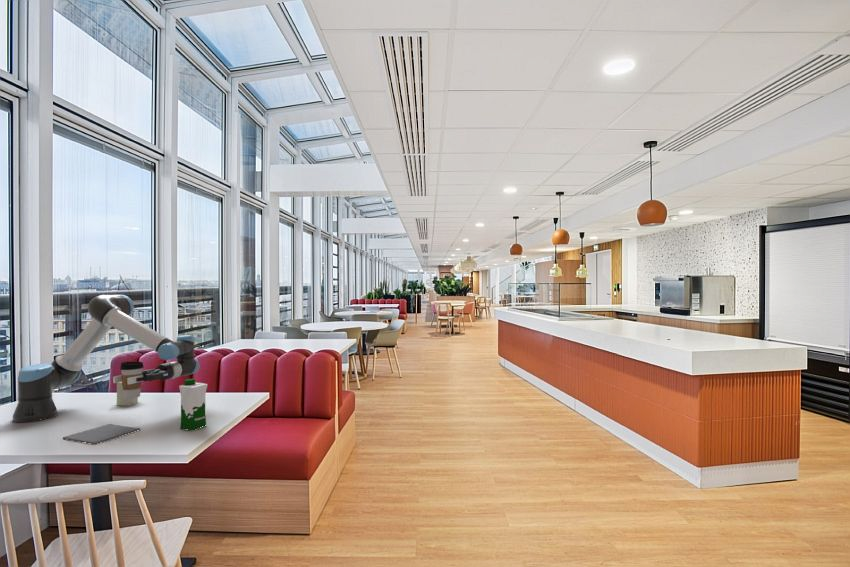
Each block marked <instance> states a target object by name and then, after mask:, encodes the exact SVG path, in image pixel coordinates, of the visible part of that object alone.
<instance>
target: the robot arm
mask: <svg viewBox="0 0 850 567" xmlns="http://www.w3.org/2000/svg"><path fill="white" fill-rule="evenodd" d="M134 309H135V306H134V301H133V300H132V299H131V298H130V297H129V296H127V295H124V294H116V293H115V294H100V295H97V296H95V297H93V298H92V299H91V300H90V301H89V303H88V304H87V312H88V314H89V315H90V317H91V318H92V319H91V320H90V321H89V323H88V324H87V325H86V326H85V327H84V329H83V330H82V331H81V332H80V333H79V335H78V336H77V337H76V339H75V340H74V341H73V342H72V343H71V345H69V348H68V349H66V351H65V352H64V353H63V354H62V355H57V356H56V357H55V359H54V360H53V361H52V362H51V363H37V364H31V365H28V366H27V365H26V366H25V367H22V368H21V369H19V371H18V374H17V375H18V376H17V383H18V384H17V389H18V390H17V395H18V396H17V399H18V401H17V405H16V407H15V409H14V411H13V412H14V413H13V414H12V422H14V421H15V423H27V421H30V422H35V421H34V420H37V421H41V420H40V419H43V420H46V419H45V418H47V419H50V418H49V417H51V418H53V417H52V416H54V417H56V416H57V415H58V409H57V407H56V404H55V402H54V399H53V390H56V389H57V390H58V389H61V388H65V387H68V386H71V385H72V384H74V383H76V382H77V381H78V380H79V379H80V378H81V375H82V369H83V362H85V360H86V359H87V358H88V357H89V355H90V354H91V352H93V350H94V349H95V348H96V346H97V345H98V344H99V343H100V342H101V341H102V339H103V338H104V337H105V335H107V333H108V332H109V331H110V330H111V328H113V329H116V330H118V331H119V332H121V333H122V334H123V335H124V334H125V335H126V336H128V337H130V338H131V339H133V340H135V341H137V342H138V343H140V344H141V345H144V346H145V347H147V348H149V349H151V350H152V351H154V352H155V353H157V355H158V357H159V359H161V360H163V361H169V362H167V363H160V364H158V365H157V366H156V368H151V369H142V375H140V376H135V377H130V378H127V384H128V385H129V384H134V383H138V382H141V383H142V382H147V381H148V382H152V381H156V380H159V381H166V380H167V381H168V380H170V379H171V380H175V378H178V377H179V378H180V377H184V376H189V375H193V374H196V373H197V372H198V371H199V370H200V363H199V360H198V359H197V358H195V337H194V335H192V334H186V335H184V334H183V335H178V336H177V337H176V340H175V341H173V340H172V339H169V338H168V337H166V336H165V335H162V334H161V333H159V332H157V330H154V329H152V328H151V327H149V326H147V325H145V324H144V323H142V322H140V320H139V321H138V320H137V319H135V318H134V317H132V316H131V315H132V314H133V312H134ZM174 359H176V361H173V360H174ZM170 361H171V362H170ZM112 379H113V380H112V381H113V382H112V383H113V384H117V383H118V382H122V378H121V374H120V375H116V376H112ZM55 415H56V416H55Z"/></svg>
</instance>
